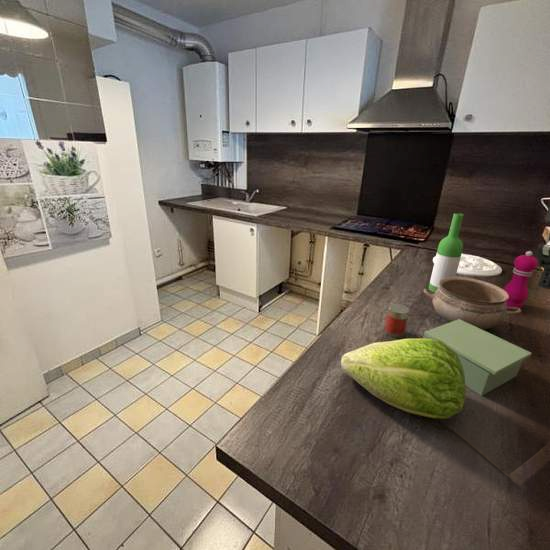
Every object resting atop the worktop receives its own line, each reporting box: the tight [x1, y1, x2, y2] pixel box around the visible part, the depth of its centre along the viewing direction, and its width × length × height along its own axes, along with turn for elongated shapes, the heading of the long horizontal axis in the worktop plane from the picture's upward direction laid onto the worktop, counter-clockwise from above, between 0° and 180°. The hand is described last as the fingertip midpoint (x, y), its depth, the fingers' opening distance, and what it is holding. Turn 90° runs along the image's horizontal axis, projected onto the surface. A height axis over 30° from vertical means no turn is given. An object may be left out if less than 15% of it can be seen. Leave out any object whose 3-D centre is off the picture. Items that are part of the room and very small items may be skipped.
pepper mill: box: [502, 250, 539, 310], centre depth 98 cm, size 7×7×20 cm
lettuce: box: [340, 337, 467, 420], centre depth 63 cm, size 15×24×16 cm
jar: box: [384, 303, 410, 339], centre depth 84 cm, size 6×6×9 cm
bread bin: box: [422, 334, 524, 396], centre depth 71 cm, size 16×14×7 cm
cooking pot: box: [423, 276, 522, 330], centre depth 89 cm, size 25×19×12 cm
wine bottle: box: [428, 212, 464, 291], centre depth 106 cm, size 8×8×30 cm
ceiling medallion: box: [432, 253, 503, 278], centre depth 138 cm, size 28×28×3 cm
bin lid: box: [423, 319, 532, 375], centre depth 69 cm, size 17×14×1 cm
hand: (545, 287), depth 57 cm, fingers closed
